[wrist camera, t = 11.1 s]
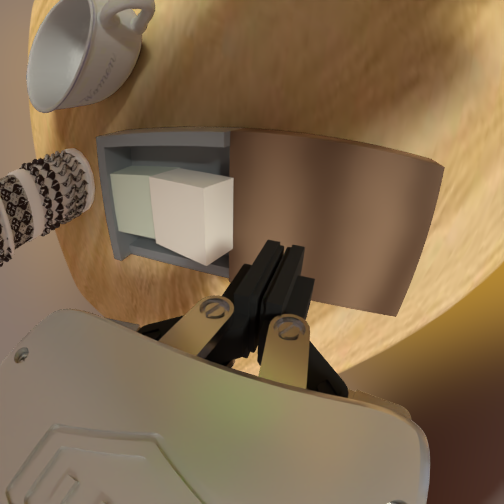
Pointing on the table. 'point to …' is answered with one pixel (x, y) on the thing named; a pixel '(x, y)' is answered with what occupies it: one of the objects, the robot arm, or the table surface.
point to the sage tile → (135, 199)
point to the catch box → (166, 155)
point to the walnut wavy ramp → (334, 212)
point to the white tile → (193, 213)
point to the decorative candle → (43, 197)
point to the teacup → (85, 51)
